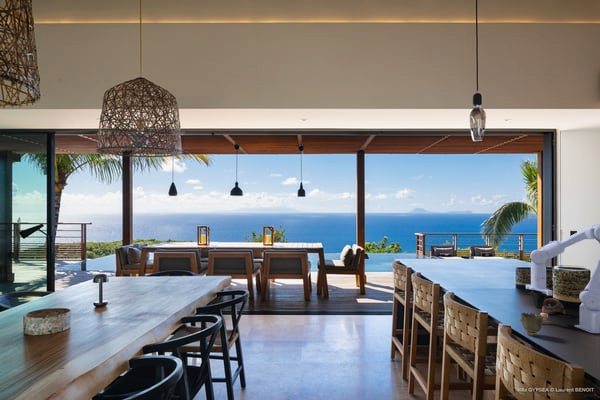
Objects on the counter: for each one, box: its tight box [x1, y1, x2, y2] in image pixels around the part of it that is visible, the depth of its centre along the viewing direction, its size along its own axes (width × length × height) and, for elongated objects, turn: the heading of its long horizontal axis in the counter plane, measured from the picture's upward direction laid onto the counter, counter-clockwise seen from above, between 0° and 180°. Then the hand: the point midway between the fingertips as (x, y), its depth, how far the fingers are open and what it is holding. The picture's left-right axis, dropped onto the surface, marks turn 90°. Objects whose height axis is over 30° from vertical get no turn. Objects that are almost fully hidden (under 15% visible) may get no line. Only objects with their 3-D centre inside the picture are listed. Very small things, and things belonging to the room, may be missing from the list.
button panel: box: [519, 317, 553, 325], centre depth 167 cm, size 5×11×1 cm, turn 93°
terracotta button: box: [539, 312, 549, 319], centre depth 167 cm, size 3×3×2 cm
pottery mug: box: [541, 298, 566, 316], centre depth 184 cm, size 12×10×8 cm
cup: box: [520, 312, 543, 337], centre depth 150 cm, size 8×7×8 cm
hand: (538, 308), depth 167 cm, fingers closed
